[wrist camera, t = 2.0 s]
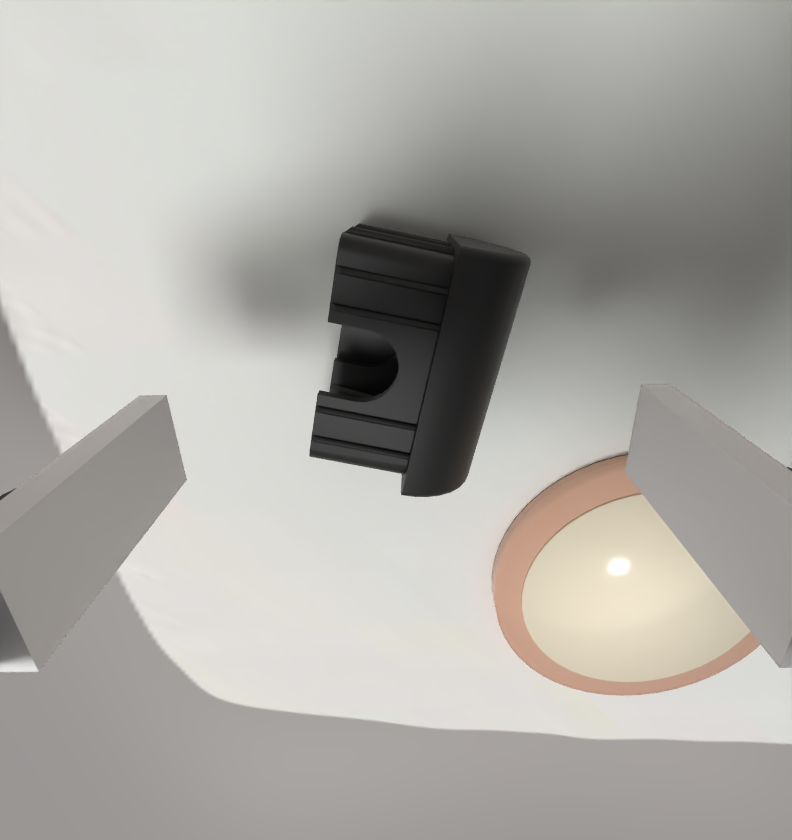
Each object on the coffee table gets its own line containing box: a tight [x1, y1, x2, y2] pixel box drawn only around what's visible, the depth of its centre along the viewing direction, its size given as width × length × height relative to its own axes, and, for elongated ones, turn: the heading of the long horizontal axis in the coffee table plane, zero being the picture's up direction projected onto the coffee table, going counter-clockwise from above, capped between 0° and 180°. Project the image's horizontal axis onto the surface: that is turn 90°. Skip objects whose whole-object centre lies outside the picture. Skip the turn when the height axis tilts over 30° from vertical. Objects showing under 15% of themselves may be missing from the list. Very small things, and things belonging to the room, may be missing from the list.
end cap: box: [310, 224, 530, 497], centre depth 21 cm, size 10×7×7 cm
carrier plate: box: [492, 455, 760, 695], centre depth 29 cm, size 17×17×2 cm
